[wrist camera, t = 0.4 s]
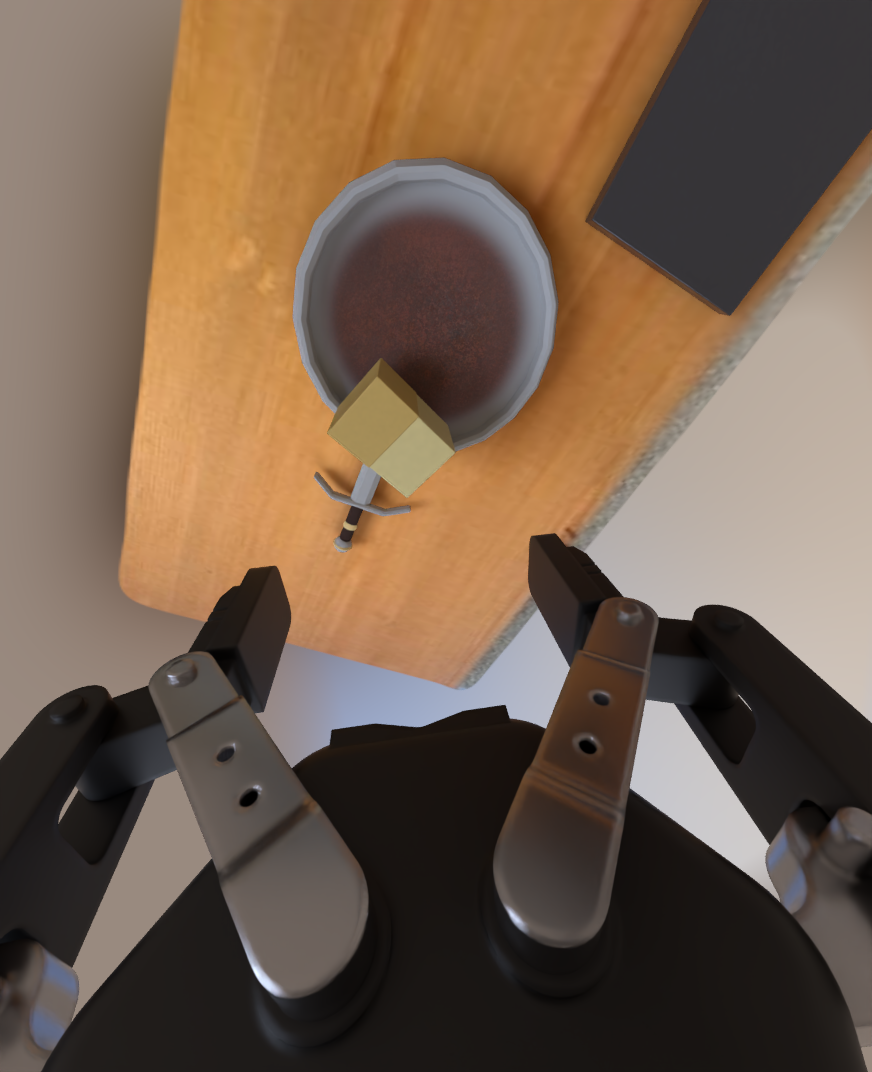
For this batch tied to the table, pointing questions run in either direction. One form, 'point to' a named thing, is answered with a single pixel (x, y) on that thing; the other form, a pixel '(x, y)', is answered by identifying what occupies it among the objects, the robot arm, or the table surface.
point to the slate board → (740, 140)
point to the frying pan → (426, 301)
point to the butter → (392, 430)
